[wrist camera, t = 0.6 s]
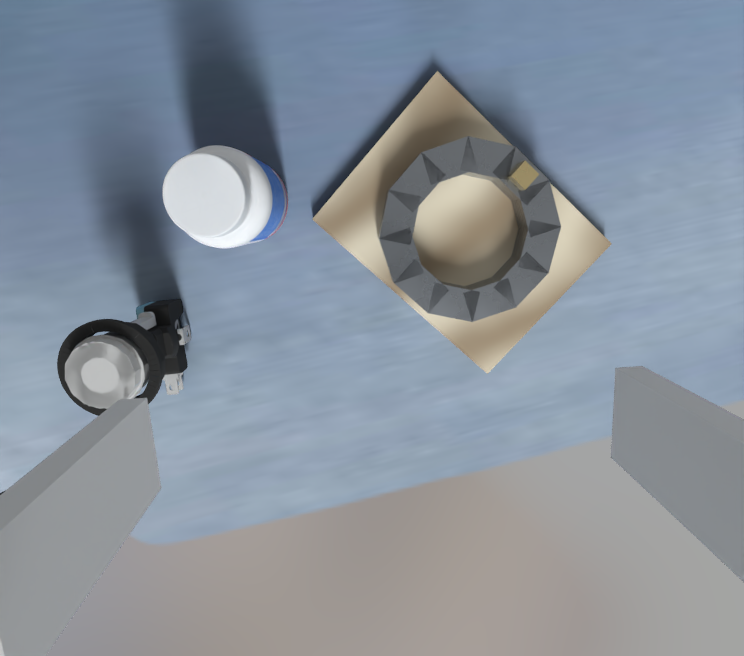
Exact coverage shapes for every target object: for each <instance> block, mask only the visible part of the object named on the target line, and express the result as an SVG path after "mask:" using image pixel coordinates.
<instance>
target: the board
mask: <svg viewBox="0 0 744 656" xmlns="http://www.w3.org/2000/svg"><path fill="white" fill-rule="evenodd" d="M467 136H470V137H475V138H479V139H484V140H488V141H493V142H497V143H502V144H506V145H511V144H510V143H509V142H508V141H507V140H506V139H505V138H504V137H503V136H502V135H501V134H500V133H499V132H498V131H497V130H496V129H495V128H494V127H493V126H492V125H491V124H490V123H489V122H488V121H487V120H486V119H485V118H484V117H483V116H482V115H481V114H480V113H479V112H478V111H477V110H476V109H475V108H474V107H473V106H472V105H471V104H470V103H469V102H468V101H467V100H466V99H465V98H464V97H463V96H462V95H461V94H460V93H459V92H458V91H457V90H456V89H455V88H454V87H453V86H452V85H451V84H450V83H449V82H448V81H447V80H446V79H445V78H444V77H443V76H442V75H441V74H440V73H439V72H438V71H437V72H436V73H435V74H434V76H433V77H432V78H431V79H430V80H429V81H428V83H427V84H426V85H425V86H424V87H423V89H422V90H421V91H420V92H419V93H418V94H417V96H416V97H415V98H414V99H413V100H412V102H411V103H410V104H409V105H408V106H407V107H406V109H405V110H404V111H403V112H402V113H401V115H400V116H399V117H398V118H397V119H396V121H395V122H394V123H393V124H392V125H391V126H390V128H389V129H388V130H387V131H386V132H385V134H384V135H383V136H382V137H381V138H380V139H379V141H378V142H377V143H376V144H375V145H374V147H373V148H372V149H371V150H370V151H369V153H368V154H367V155H366V156H365V157H364V158H363V160H362V161H361V162H360V163H359V164H358V166H357V167H356V168H355V169H354V170H353V171H352V173H351V174H350V175H349V176H348V177H347V179H346V180H345V181H344V182H343V183H342V185H341V186H340V187H339V188H338V189H337V190H336V192H335V193H334V194H333V195H332V196H331V198H330V199H329V200H328V201H327V202H326V203H325V205H324V206H323V207H322V208H321V209H320V211H319V212H318V213H317V214H316V215H315V217H314V218H313V219H312V220H314V221H315V222H316V223H317V224H318V225H319V226H320V227H322V228H323V229H324V230H325V231H326V232H327V233H328V234H329V235H331V236H332V237H333V238H334V239H335V240H336V241H337V242H339V243H340V244H341V245H342V246H343V247H344V248H345V249H346V250H348V251H349V252H350V253H351V254H352V255H353V256H354V257H356V258H357V259H358V260H359V261H360V262H361V263H362V264H363V265H365V266H366V267H367V268H368V269H369V270H370V271H371V272H373V273H374V274H375V275H376V276H377V277H378V278H379V279H381V280H382V281H383V282H384V283H385V284H386V285H387V286H388V287H390V288H391V289H392V290H393V291H394V292H395V293H396V294H398V295H399V296H400V297H401V298H402V299H403V300H404V301H405V302H407V303H408V304H409V305H410V306H411V307H412V308H413V309H415V310H416V311H417V312H418V313H419V314H420V315H421V316H422V317H424V318H425V319H426V320H427V321H428V322H429V323H430V324H432V325H433V326H434V327H435V328H436V329H437V330H438V331H439V332H441V333H442V334H443V335H444V336H445V337H446V338H447V339H449V340H450V341H451V342H452V343H453V344H454V345H455V346H456V347H458V348H459V349H460V350H461V351H462V352H463V353H464V354H466V355H467V356H468V357H469V358H470V359H471V360H472V361H473V362H475V363H476V364H477V365H478V366H479V367H480V368H481V369H483V370H484V371H485V372H486V373H487V374H488V373H489V372H490V371H491V370H492V369H493V368H494V366H495V365H496V364H497V363H498V362H499V361H500V360H501V359H502V358H503V357H504V356H505V355H506V354H507V353H508V352H509V351H510V350H511V349H512V348H513V347H514V346H515V344H516V343H517V342H518V341H519V340H520V339H521V338H522V337H523V336H524V335H525V334H526V333H527V332H528V331H529V330H530V329H531V328H532V327H533V326H534V325H535V324H536V322H537V321H538V320H539V319H540V318H541V317H542V316H543V315H544V314H545V313H546V312H547V311H548V310H549V309H550V308H551V307H552V306H553V305H554V304H555V303H556V302H557V301H558V299H559V298H560V297H561V296H562V295H563V294H564V293H565V292H566V291H567V290H568V289H569V288H570V287H571V286H572V285H573V284H574V283H575V282H576V281H577V280H578V279H579V277H580V276H581V275H582V274H583V273H584V272H585V271H586V270H587V269H588V268H589V267H590V266H591V265H592V264H593V263H594V262H595V261H596V260H597V259H598V258H599V257H600V255H601V254H602V253H603V252H604V251H605V250H606V249H607V248H608V247H609V246H610V245H611V243H610V242H609V241H608V240H607V239H606V238H605V237H604V236H603V235H602V234H601V233H600V232H599V231H598V230H597V229H596V228H595V227H594V226H593V225H592V224H591V223H590V222H589V221H588V220H587V219H586V218H585V217H584V216H583V215H582V214H581V213H580V212H579V211H578V210H577V209H576V208H575V207H574V206H573V205H572V204H571V203H570V202H569V201H568V200H567V199H566V198H565V197H564V196H563V195H562V194H561V193H560V192H559V191H558V190H557V189H556V188H555V187H554V186H553V185H552V184H551V183H550V184H551V188H552V192H553V196H554V200H555V204H556V208H557V212H558V216H559V220H560V224H561V229H560V233H559V237H558V240H557V244H556V248H555V251H554V255H553V259H552V262H551V266H550V270H549V273H548V274H547V275H546V276H545V277H544V278H543V280H542V281H541V282H540V283H539V284H538V285H537V286H536V287H535V288H534V289H533V290H532V291H531V292H530V293H529V294H528V295H527V296H526V298H525V299H524V300H523V301H522V302H521V303H520V304H519V305H518V306H517V307H516V308H513V309H510V310H507V311H504V312H501V313H498V314H495V315H492V316H489V317H486V318H483V319H480V320H477V321H474V322H470V321H465V320H460V319H455V318H449V317H444V316H439V315H434V314H429V313H427V312H426V311H425V310H424V309H423V308H421V307H420V306H419V305H418V304H417V303H416V302H415V301H413V300H412V299H411V298H410V297H409V296H408V295H407V294H406V293H404V292H403V291H402V290H401V289H400V288H399V287H398V286H397V285H395V284H394V283H393V281H392V279H391V276H390V273H389V270H388V267H387V263H386V260H385V257H384V254H383V251H382V248H381V245H380V242H379V239H378V234H379V229H380V224H381V219H382V214H383V209H384V204H385V199H386V194H387V191H388V190H389V189H390V188H391V187H392V185H393V184H394V183H395V182H396V181H397V180H398V179H399V177H400V176H401V175H402V174H403V173H404V172H405V170H406V169H407V168H408V167H409V166H410V165H411V163H412V162H413V161H414V160H415V159H416V158H417V156H418V155H419V154H420V153H421V152H424V151H427V150H430V149H433V148H435V147H438V146H441V145H444V144H447V143H450V142H453V141H456V140H459V139H461V138H464V137H467ZM511 146H513V145H511ZM517 232H518V225H517V221H516V217H515V214H514V210H513V206H512V202H511V200H510V199H509V198H508V197H507V196H506V195H505V194H504V193H503V192H502V191H501V190H500V189H499V188H498V187H496V186H495V185H494V184H493V183H492V182H491V181H489V180H485V179H480V178H476V177H471V176H466V175H460V176H457V177H454V178H451V179H449V180H446V181H443V182H440V183H438V185H437V186H436V187H435V188H434V189H433V190H432V191H431V193H430V194H429V195H428V196H427V197H426V198H425V199H424V201H423V202H422V203H421V204H420V205H419V208H418V212H417V217H416V222H415V226H414V231H413V240H414V243H415V246H416V249H417V252H418V256H419V259H420V262H421V265H422V266H423V267H424V268H425V269H427V270H428V271H429V272H430V273H431V274H432V275H433V276H434V277H435V278H436V279H438V280H439V281H442V282H447V283H452V284H457V285H462V286H467V285H470V284H473V283H476V282H479V281H482V280H485V279H488V278H491V277H493V275H494V274H495V273H496V272H497V271H498V270H499V269H500V268H501V267H502V266H503V265H504V264H505V262H506V261H507V260H508V259H509V258H510V257H511V255H512V251H513V248H514V244H515V240H516V236H517Z"/></svg>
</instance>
